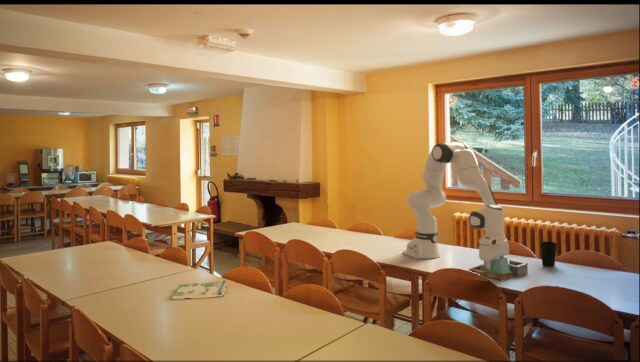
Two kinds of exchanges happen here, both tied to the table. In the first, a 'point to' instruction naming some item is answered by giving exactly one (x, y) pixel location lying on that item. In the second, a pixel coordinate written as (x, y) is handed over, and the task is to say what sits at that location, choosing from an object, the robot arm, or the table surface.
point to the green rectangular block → (496, 266)
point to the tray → (491, 274)
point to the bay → (518, 267)
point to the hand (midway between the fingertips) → (494, 266)
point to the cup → (548, 253)
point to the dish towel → (218, 284)
